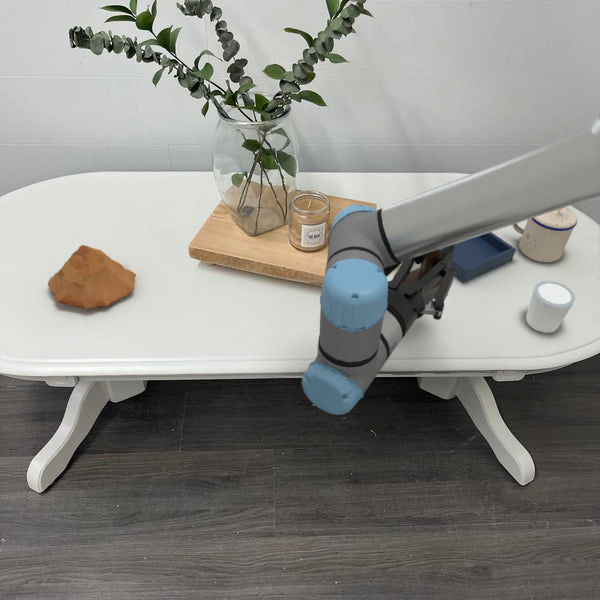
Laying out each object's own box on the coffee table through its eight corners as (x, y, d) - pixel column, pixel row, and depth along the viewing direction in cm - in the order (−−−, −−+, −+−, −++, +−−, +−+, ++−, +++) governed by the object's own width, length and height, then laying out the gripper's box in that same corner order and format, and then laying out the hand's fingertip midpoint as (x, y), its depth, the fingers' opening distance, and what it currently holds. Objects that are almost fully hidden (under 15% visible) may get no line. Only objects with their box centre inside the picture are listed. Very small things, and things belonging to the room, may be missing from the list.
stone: (43, 293, 109) (37, 241, 106) (119, 282, 117) (115, 234, 114) (64, 314, 98) (58, 257, 95) (146, 300, 106) (143, 247, 103)
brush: (448, 296, 97) (466, 227, 87) (415, 311, 94) (431, 242, 84) (427, 279, 100) (443, 211, 90) (395, 293, 97) (408, 224, 88)
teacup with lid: (568, 248, 120) (589, 201, 112) (554, 270, 115) (574, 222, 107) (513, 227, 125) (529, 180, 117) (497, 247, 120) (512, 199, 112)
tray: (512, 260, 117) (516, 249, 115) (463, 283, 111) (466, 271, 109) (452, 217, 127) (454, 206, 125) (404, 236, 122) (407, 224, 120)
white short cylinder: (534, 303, 107) (546, 274, 102) (568, 322, 104) (582, 293, 99) (515, 321, 104) (526, 292, 99) (550, 341, 100) (564, 312, 95)
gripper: (329, 321, 86) (397, 242, 101) (426, 365, 80) (483, 275, 95) (333, 283, 81) (403, 206, 95) (436, 327, 75) (494, 238, 89)
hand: (443, 240), depth 95 cm, fingers closed on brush, 3 cm apart
